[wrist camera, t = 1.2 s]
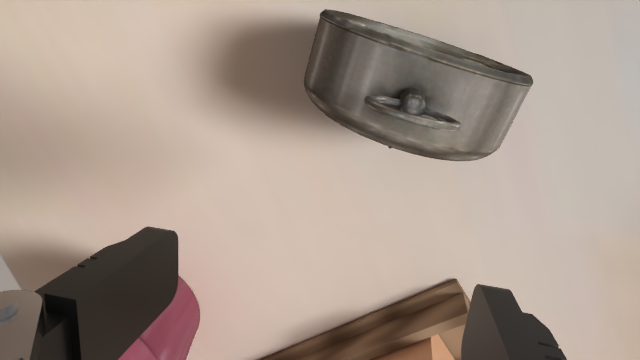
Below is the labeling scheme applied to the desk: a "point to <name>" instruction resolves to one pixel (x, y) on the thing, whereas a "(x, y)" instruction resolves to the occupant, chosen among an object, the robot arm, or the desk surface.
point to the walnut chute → (392, 328)
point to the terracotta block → (420, 351)
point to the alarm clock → (411, 89)
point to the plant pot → (169, 330)
